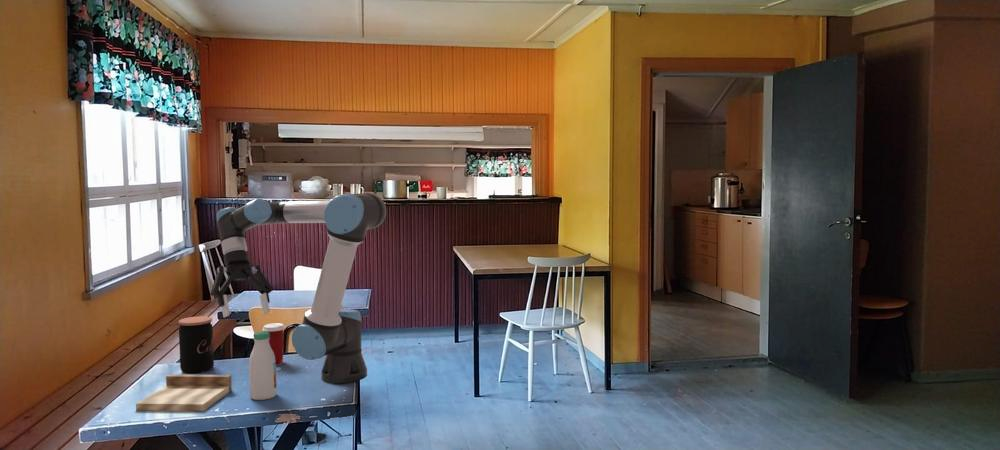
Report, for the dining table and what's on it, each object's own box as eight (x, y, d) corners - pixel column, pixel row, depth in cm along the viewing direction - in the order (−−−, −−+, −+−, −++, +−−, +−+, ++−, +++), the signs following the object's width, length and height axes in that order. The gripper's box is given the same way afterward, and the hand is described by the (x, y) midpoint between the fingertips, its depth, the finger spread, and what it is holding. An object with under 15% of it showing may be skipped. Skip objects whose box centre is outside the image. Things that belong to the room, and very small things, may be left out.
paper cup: (290, 361, 235) (289, 324, 234) (274, 367, 229) (273, 328, 227) (274, 359, 239) (273, 322, 238) (258, 364, 232) (257, 326, 231)
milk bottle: (271, 400, 194) (269, 335, 193) (245, 400, 194) (243, 335, 193) (280, 392, 202) (278, 329, 200) (256, 392, 202) (254, 329, 201)
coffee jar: (200, 375, 219) (198, 323, 218) (173, 373, 221) (171, 322, 220) (220, 366, 230) (218, 316, 228) (194, 364, 232) (192, 315, 231)
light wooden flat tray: (231, 390, 204) (231, 374, 203) (203, 411, 186) (202, 394, 186) (170, 389, 205) (169, 374, 204) (136, 410, 187) (135, 393, 186)
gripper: (264, 257, 223) (276, 315, 216) (192, 257, 204) (203, 321, 197) (275, 249, 218) (288, 308, 212) (202, 248, 199) (214, 312, 193)
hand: (247, 314), depth 205 cm, fingers open, 13 cm apart
